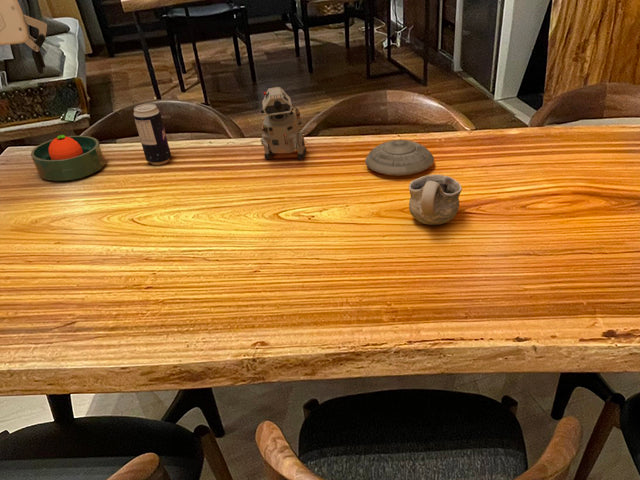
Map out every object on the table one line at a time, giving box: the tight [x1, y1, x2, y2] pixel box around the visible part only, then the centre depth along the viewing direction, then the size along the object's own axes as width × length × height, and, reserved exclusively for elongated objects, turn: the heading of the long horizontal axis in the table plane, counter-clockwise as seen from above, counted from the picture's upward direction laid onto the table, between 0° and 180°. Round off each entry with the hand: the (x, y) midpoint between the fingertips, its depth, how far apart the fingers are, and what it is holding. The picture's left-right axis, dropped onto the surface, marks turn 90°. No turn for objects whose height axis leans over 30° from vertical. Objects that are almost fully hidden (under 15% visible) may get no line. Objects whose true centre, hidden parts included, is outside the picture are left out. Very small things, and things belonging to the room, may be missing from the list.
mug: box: [408, 174, 463, 226], centre depth 113 cm, size 10×12×10 cm
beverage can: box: [133, 103, 172, 166], centre depth 139 cm, size 6×6×12 cm
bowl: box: [30, 135, 106, 182], centre depth 139 cm, size 14×14×5 cm
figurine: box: [259, 86, 307, 161], centre depth 136 cm, size 9×12×15 cm
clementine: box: [49, 134, 83, 160], centre depth 138 cm, size 8×7×7 cm
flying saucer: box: [364, 139, 435, 177], centre depth 135 cm, size 15×15×6 cm
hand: (15, 74), depth 125 cm, fingers open, 9 cm apart
